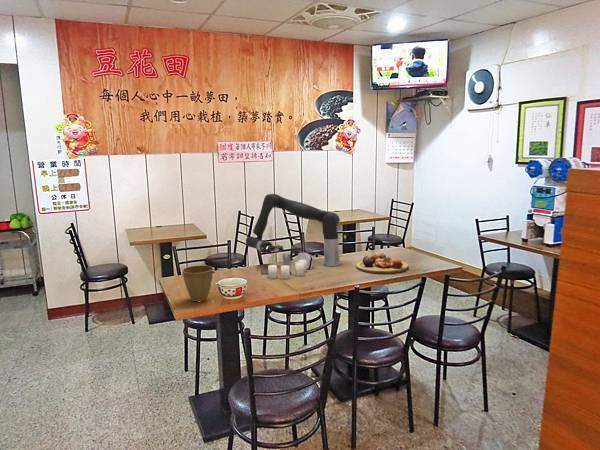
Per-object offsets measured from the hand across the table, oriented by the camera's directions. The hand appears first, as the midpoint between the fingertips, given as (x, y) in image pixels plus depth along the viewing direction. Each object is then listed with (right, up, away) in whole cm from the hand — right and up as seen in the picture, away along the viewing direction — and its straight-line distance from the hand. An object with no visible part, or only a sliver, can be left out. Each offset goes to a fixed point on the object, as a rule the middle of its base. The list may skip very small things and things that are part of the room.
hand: (276, 251), depth 268 cm
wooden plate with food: (+65, -11, +2) cm, 66 cm away
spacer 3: (+14, -14, -10) cm, 22 cm away
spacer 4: (+16, -12, -3) cm, 20 cm away
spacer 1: (-2, -15, -14) cm, 20 cm away
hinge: (+17, -11, +9) cm, 22 cm away
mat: (-6, -13, -3) cm, 14 cm away
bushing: (+7, -13, -8) cm, 17 cm away
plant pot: (-36, -22, -51) cm, 66 cm away
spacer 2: (+6, -15, -16) cm, 22 cm away
